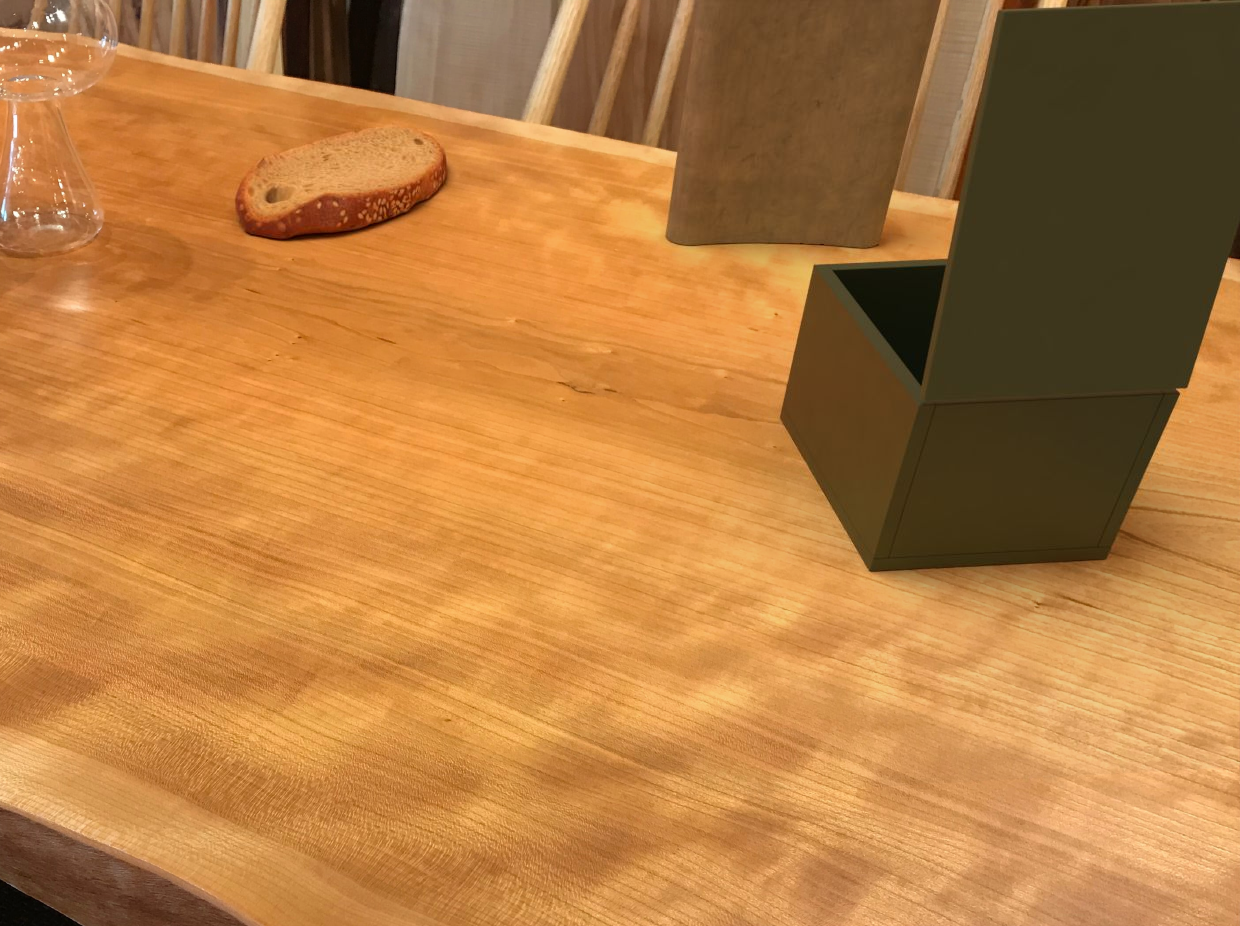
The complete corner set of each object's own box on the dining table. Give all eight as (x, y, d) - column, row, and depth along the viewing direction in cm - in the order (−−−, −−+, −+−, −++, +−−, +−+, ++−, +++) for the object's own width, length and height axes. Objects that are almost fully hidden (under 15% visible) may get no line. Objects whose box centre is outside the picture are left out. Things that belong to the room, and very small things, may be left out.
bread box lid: (997, 9, 53) (1004, 10, 53) (1300, -3, 53) (1310, -2, 53) (918, 396, 62) (924, 401, 61) (1180, 384, 62) (1187, 388, 61)
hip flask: (667, 244, 99) (709, -50, 86) (662, 223, 102) (702, -65, 89) (883, 248, 97) (960, -50, 84) (872, 226, 100) (944, -65, 87)
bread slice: (438, 147, 115) (439, 103, 112) (467, 231, 101) (469, 183, 99) (234, 157, 114) (231, 113, 112) (236, 243, 101) (232, 195, 98)
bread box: (779, 417, 80) (813, 264, 73) (982, 407, 80) (1034, 254, 74) (869, 571, 68) (919, 405, 62) (1106, 559, 68) (1181, 393, 62)
